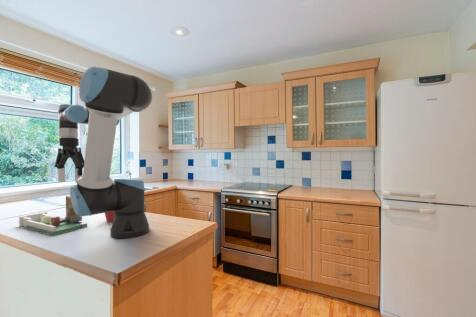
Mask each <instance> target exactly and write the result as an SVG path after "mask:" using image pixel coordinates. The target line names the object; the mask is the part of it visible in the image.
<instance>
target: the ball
mask: <svg viewBox="0 0 476 317" xmlns="http://www.w3.org/2000/svg"><path fill="white" fill-rule="evenodd" d="M51 218H52V215H50V214H47V215H45V216H43V217H42V219H41V221H42V223H44V224H48V223H50V222H51Z"/></svg>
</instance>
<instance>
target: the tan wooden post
mask: <svg viewBox="0 0 476 317" xmlns="http://www.w3.org/2000/svg"><path fill="white" fill-rule="evenodd" d="M51 217H52V216H51ZM60 218H61V217H60V216H53V217H52V218H51V226H57V225H60V223H64V222H70V223H74V222H78V221H79V222H83V216H78V215H77V214H76V213H75V212H74V209H73V206H72V203H71V198H70V195H68V196H67V195H66V196H65V217H64V219H63V220H60Z"/></svg>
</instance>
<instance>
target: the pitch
mask: <svg viewBox="0 0 476 317" xmlns="http://www.w3.org/2000/svg"><path fill="white" fill-rule="evenodd" d="M45 215H48V211H42V212H36V213H31V214H25V215H21V216H18V226H19V227H25V228H26V229H28V230H32V231H36V232H40V233H43V234H46V235H50V236H58V235H61V234H64V233H68V232H71V231H75V230H80V229H82V228H81V225H80V224H75V223H70V222H64V223H60V225H57V226H51V222H50V223H48V224H44V223H42V221H41V219H42V217H43V216H45Z"/></svg>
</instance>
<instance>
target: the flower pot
mask: <svg viewBox="0 0 476 317" xmlns="http://www.w3.org/2000/svg"><path fill="white" fill-rule="evenodd" d="M104 216H105V220H106V222H108V223H113V221H114V218H115V211H111V212H106V213H104Z"/></svg>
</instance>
